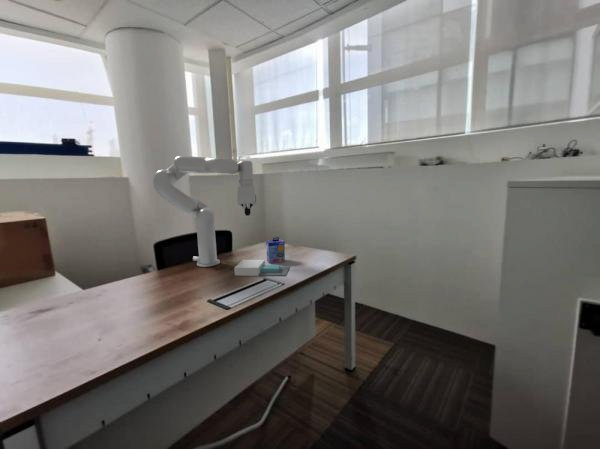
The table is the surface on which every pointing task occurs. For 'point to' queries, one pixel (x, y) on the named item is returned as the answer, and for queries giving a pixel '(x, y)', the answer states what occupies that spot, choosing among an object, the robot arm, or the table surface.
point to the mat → (281, 272)
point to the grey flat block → (249, 267)
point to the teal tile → (270, 268)
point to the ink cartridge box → (275, 250)
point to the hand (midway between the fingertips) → (247, 215)
